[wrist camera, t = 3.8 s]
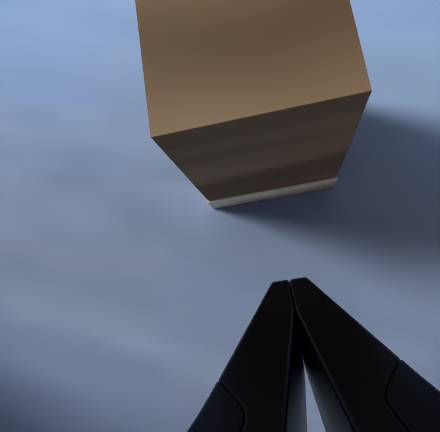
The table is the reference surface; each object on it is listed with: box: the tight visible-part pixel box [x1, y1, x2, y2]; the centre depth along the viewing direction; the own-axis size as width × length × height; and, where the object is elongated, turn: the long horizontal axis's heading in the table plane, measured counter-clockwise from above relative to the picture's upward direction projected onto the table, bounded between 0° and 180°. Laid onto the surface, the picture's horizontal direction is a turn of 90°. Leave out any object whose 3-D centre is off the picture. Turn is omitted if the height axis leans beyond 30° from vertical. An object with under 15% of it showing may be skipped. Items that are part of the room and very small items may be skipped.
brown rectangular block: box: [135, 0, 372, 209], centre depth 13 cm, size 4×5×8 cm
